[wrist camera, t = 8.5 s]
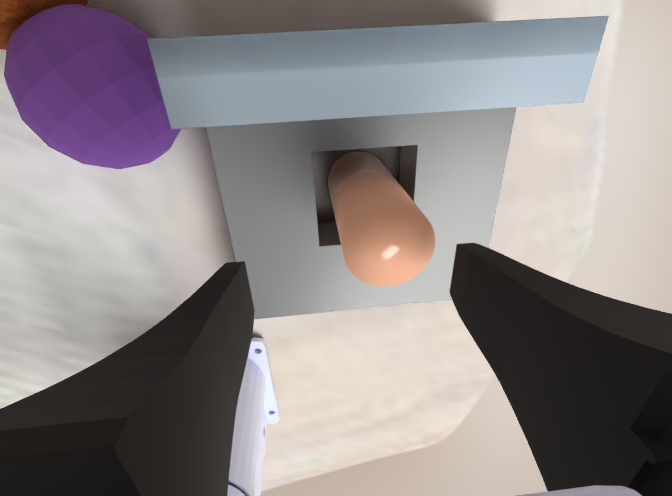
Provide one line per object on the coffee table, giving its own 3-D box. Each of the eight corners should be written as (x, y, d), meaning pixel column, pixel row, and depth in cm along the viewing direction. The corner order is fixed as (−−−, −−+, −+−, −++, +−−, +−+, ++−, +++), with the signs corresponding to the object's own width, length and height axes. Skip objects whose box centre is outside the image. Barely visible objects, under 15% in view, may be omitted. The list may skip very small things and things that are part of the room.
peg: (388, 205, 21) (434, 279, 14) (331, 213, 21) (348, 292, 14) (386, 147, 19) (436, 198, 12) (324, 156, 19) (338, 212, 12)
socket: (459, 270, 24) (514, 345, 17) (254, 289, 23) (237, 374, 17) (496, 31, 17) (608, 15, 11) (205, 46, 16) (146, 38, 10)
